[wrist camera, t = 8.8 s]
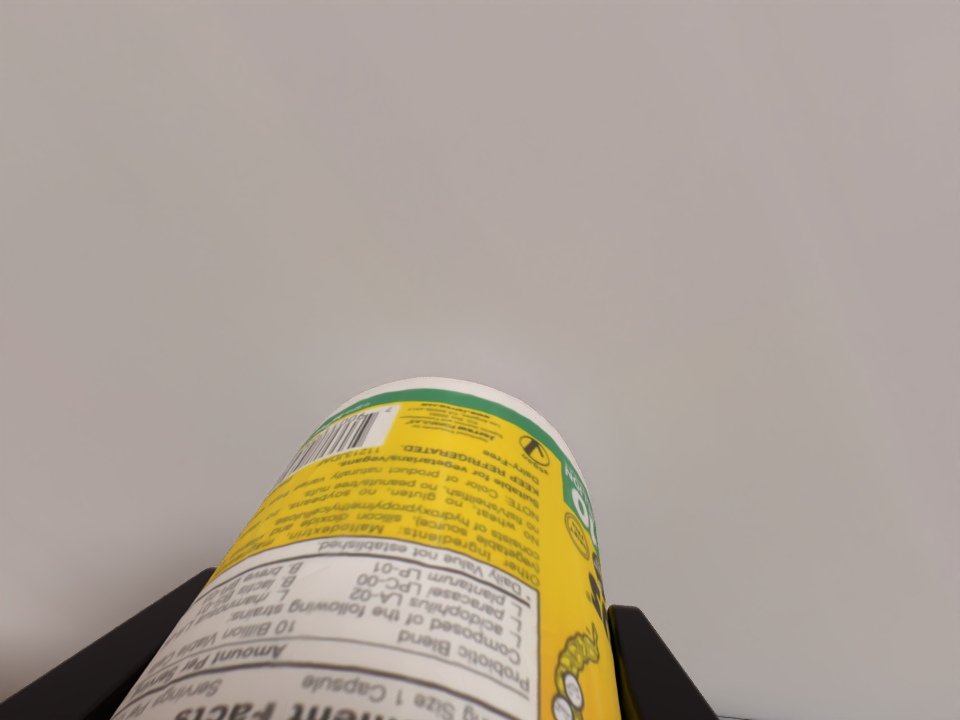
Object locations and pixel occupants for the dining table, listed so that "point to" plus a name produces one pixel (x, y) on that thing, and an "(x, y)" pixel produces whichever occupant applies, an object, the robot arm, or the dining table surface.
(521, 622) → the supplement bottle
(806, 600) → the dining table surface
